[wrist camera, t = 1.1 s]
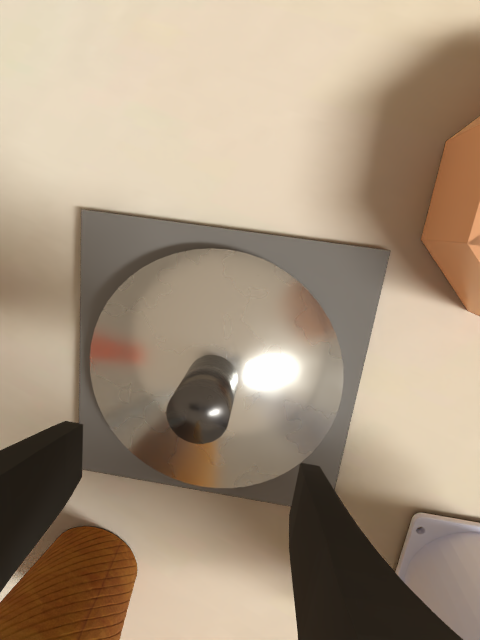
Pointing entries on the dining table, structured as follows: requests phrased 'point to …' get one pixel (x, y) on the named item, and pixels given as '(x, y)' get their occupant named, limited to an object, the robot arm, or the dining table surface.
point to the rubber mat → (286, 252)
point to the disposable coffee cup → (72, 590)
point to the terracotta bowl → (458, 216)
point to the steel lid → (216, 368)
